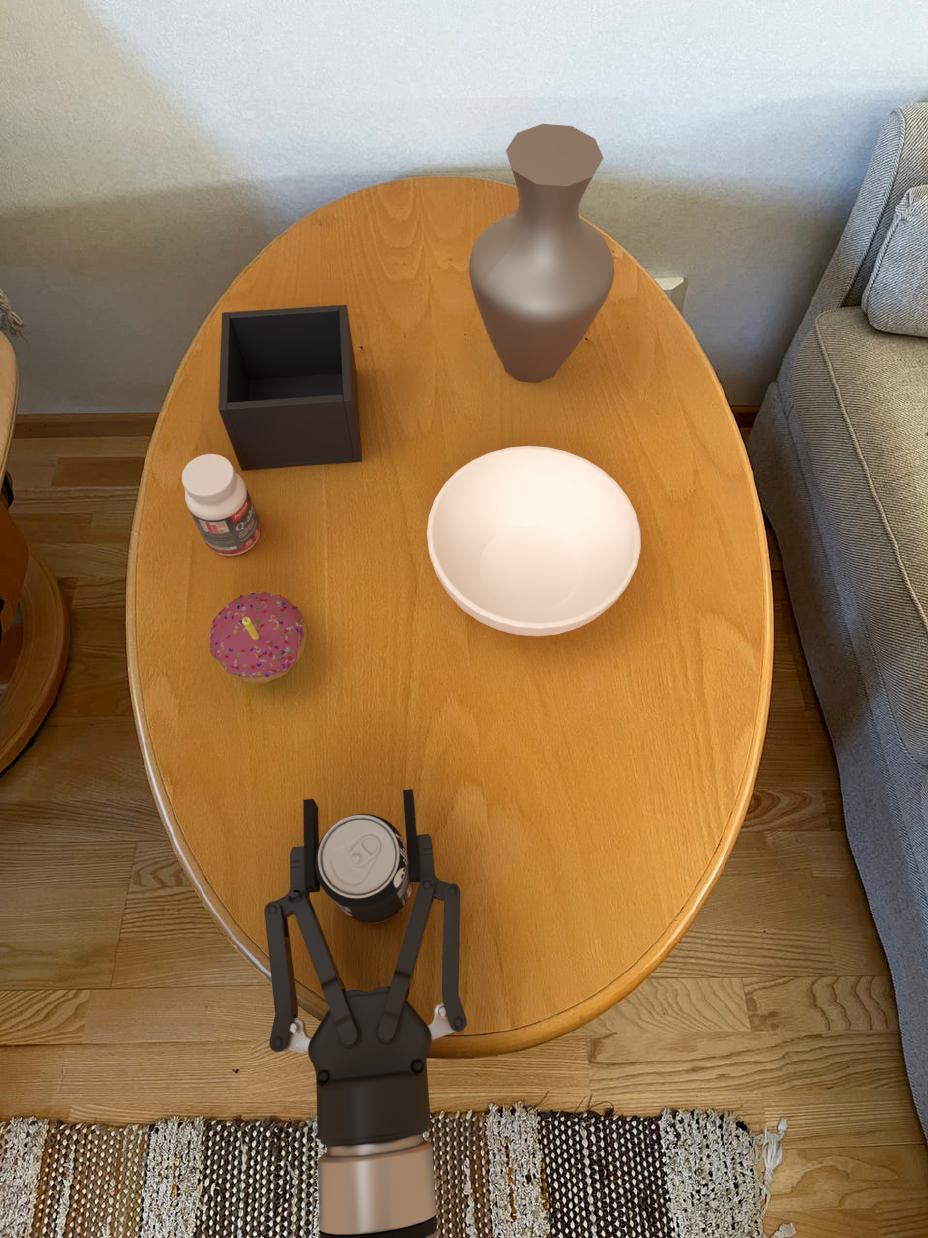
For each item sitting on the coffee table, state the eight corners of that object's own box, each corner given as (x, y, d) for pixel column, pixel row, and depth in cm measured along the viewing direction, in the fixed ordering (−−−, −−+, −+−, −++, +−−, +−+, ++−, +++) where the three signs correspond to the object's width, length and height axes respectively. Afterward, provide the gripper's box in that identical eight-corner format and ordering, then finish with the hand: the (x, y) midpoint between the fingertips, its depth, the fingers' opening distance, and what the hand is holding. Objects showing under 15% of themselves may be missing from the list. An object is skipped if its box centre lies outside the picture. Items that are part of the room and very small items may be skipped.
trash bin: (241, 470, 88) (218, 409, 79) (243, 378, 93) (221, 312, 85) (361, 461, 88) (351, 400, 80) (356, 370, 94) (346, 303, 85)
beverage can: (317, 882, 69) (292, 855, 59) (376, 826, 72) (362, 789, 61) (370, 942, 67) (354, 925, 57) (430, 883, 69) (424, 855, 59)
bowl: (652, 638, 80) (670, 604, 73) (451, 679, 78) (451, 647, 71) (594, 473, 88) (605, 429, 82) (412, 506, 86) (408, 463, 80)
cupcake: (325, 681, 77) (304, 624, 67) (235, 713, 76) (199, 660, 65) (298, 604, 81) (274, 538, 70) (212, 633, 79) (174, 570, 69)
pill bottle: (258, 558, 83) (235, 501, 74) (201, 558, 83) (170, 501, 74) (264, 509, 86) (242, 448, 77) (208, 509, 86) (179, 449, 77)
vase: (596, 319, 98) (639, 107, 75) (592, 416, 91) (636, 216, 69) (473, 308, 98) (479, 94, 76) (460, 404, 92) (463, 201, 70)
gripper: (236, 1152, 58) (242, 821, 68) (520, 1119, 59) (484, 798, 69) (208, 1167, 52) (219, 798, 62) (528, 1130, 53) (487, 773, 63)
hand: (359, 799), depth 65 cm, fingers open, 7 cm apart
